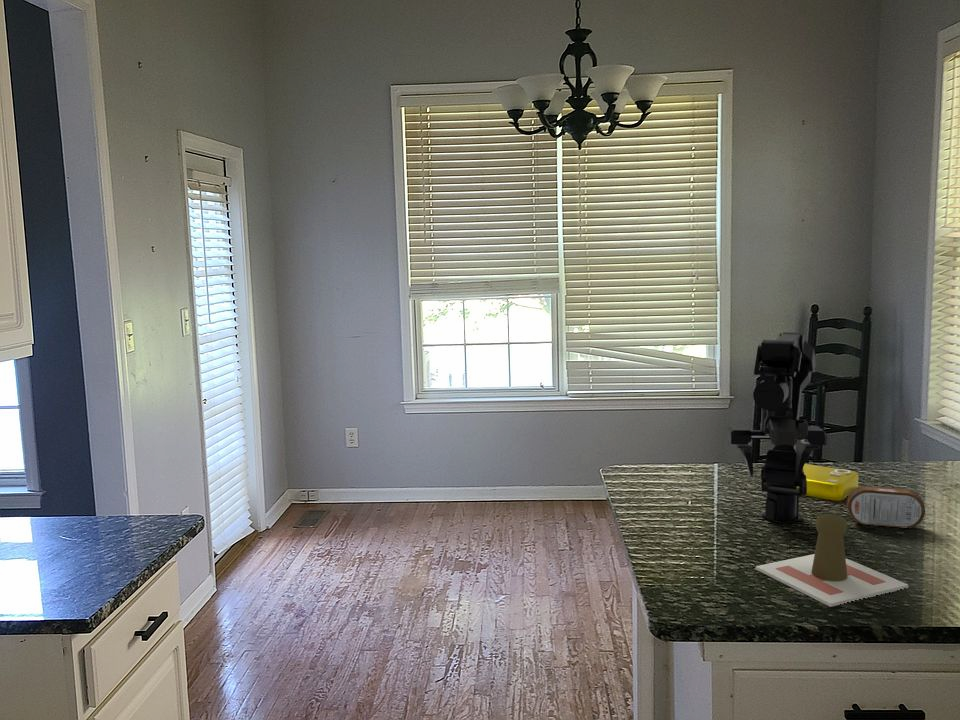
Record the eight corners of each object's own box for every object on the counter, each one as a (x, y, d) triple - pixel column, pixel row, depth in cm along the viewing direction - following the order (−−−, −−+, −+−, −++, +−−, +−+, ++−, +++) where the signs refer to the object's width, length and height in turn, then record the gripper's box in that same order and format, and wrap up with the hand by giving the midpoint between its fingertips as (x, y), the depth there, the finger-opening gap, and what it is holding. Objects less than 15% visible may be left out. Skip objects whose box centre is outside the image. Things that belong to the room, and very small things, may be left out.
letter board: (828, 553, 161) (828, 550, 161) (908, 587, 144) (908, 584, 144) (755, 569, 154) (755, 565, 154) (830, 606, 137) (830, 602, 137)
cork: (855, 577, 148) (857, 518, 146) (831, 583, 145) (833, 523, 144) (827, 565, 153) (829, 508, 152) (803, 571, 150) (805, 513, 149)
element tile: (799, 478, 214) (799, 460, 213) (860, 488, 204) (860, 470, 204) (777, 492, 203) (777, 473, 202) (840, 503, 193) (841, 483, 192)
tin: (922, 527, 175) (924, 488, 174) (925, 532, 172) (927, 493, 171) (845, 520, 180) (847, 483, 179) (846, 525, 177) (848, 487, 176)
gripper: (737, 408, 160) (735, 486, 162) (837, 409, 158) (834, 488, 160) (726, 398, 171) (724, 471, 173) (819, 398, 169) (817, 472, 171)
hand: (774, 476), depth 169 cm, fingers open, 9 cm apart
